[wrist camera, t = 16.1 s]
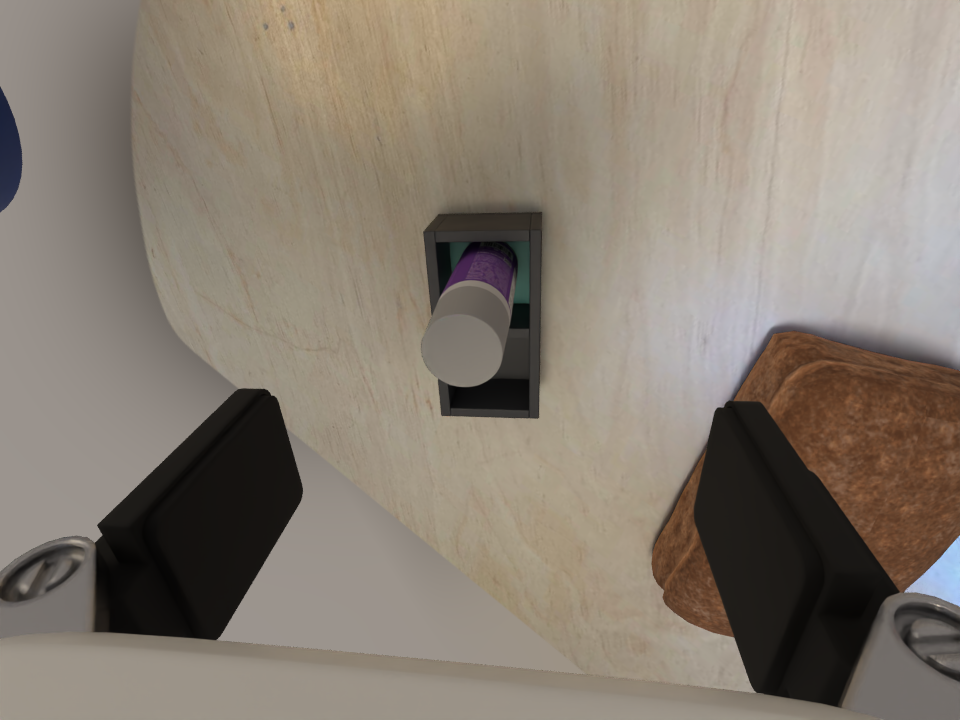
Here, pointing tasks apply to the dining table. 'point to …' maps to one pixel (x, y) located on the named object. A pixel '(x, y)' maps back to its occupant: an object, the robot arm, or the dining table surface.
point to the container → (472, 316)
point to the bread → (842, 461)
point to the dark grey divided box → (520, 366)
